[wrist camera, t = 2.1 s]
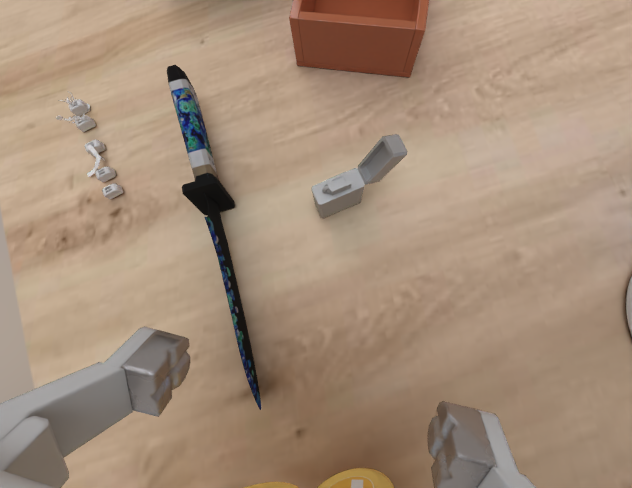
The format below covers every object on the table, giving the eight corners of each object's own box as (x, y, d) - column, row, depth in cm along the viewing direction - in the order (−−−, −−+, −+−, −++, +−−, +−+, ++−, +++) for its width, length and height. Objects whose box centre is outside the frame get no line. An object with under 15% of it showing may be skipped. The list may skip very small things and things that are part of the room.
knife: (183, 91, 31) (158, 62, 27) (213, 84, 31) (192, 54, 27) (239, 401, 29) (222, 426, 24) (271, 395, 29) (259, 419, 24)
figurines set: (126, 192, 31) (106, 181, 28) (101, 205, 31) (77, 195, 28) (88, 98, 33) (65, 80, 31) (64, 110, 33) (39, 93, 31)
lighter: (321, 219, 29) (315, 189, 21) (314, 203, 30) (306, 167, 22) (390, 189, 29) (410, 149, 22) (382, 173, 30) (399, 128, 22)
